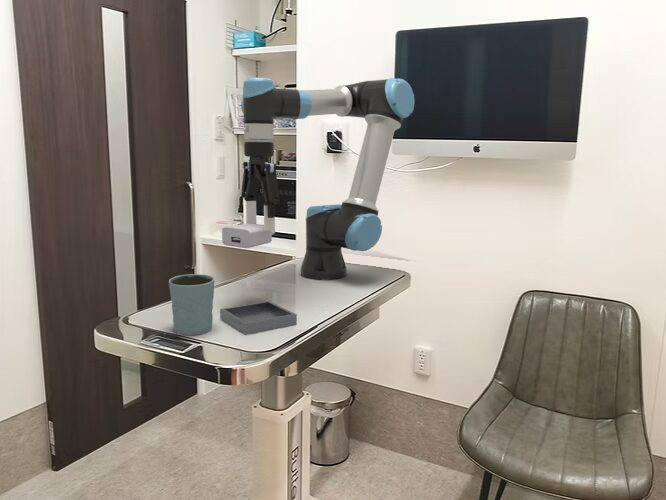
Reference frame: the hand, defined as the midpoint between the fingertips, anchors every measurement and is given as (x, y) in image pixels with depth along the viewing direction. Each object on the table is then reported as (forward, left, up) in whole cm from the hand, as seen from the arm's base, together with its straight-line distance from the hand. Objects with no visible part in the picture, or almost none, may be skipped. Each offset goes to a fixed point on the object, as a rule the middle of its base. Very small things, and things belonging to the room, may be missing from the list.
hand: (260, 227), depth 146 cm
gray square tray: (+8, +14, -21) cm, 26 cm away
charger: (+1, 0, -4) cm, 4 cm away
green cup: (+23, +11, -21) cm, 33 cm away
